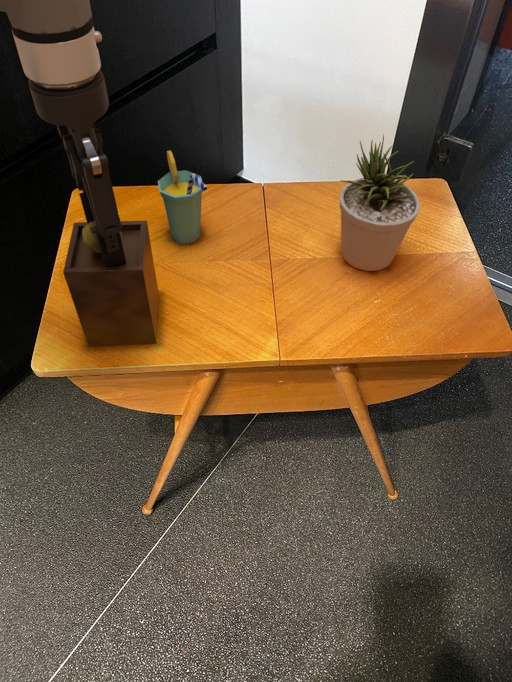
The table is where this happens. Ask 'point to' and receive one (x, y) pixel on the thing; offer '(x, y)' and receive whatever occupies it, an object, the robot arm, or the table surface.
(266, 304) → the table surface
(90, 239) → the lime
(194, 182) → the cup
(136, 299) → the dark brown box
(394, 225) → the potted plant
